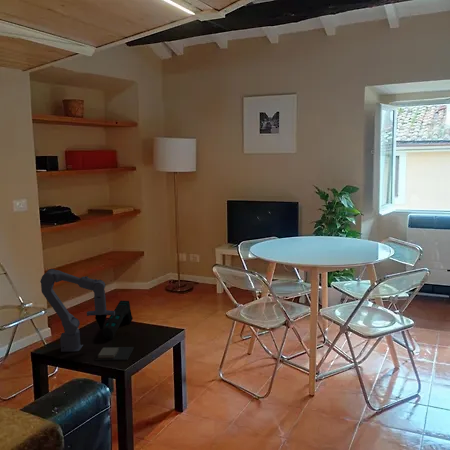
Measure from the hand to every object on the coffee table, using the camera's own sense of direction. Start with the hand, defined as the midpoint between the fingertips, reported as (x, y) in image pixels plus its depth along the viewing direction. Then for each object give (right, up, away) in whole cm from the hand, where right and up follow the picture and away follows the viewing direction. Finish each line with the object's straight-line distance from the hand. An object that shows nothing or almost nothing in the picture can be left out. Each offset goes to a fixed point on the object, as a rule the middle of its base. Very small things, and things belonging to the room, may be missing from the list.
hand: (101, 328), depth 253 cm
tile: (+6, -10, -5) cm, 12 cm away
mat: (+9, -12, -8) cm, 16 cm away
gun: (+3, -7, +25) cm, 27 cm away
